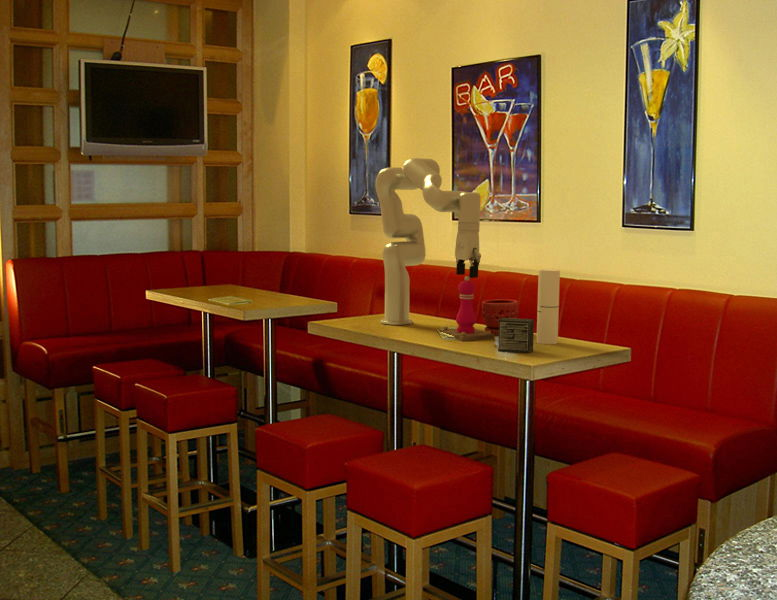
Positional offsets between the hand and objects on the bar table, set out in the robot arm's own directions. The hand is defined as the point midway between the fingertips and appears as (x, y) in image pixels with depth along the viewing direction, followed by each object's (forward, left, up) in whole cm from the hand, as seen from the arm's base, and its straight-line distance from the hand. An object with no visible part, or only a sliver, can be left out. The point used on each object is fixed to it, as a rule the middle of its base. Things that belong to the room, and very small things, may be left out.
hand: (466, 276), depth 331 cm
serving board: (+1, 0, -22) cm, 22 cm away
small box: (+33, +1, -22) cm, 39 cm away
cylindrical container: (+22, +20, -22) cm, 37 cm away
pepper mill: (0, 0, -20) cm, 20 cm away
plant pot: (-2, +15, -22) cm, 27 cm away
